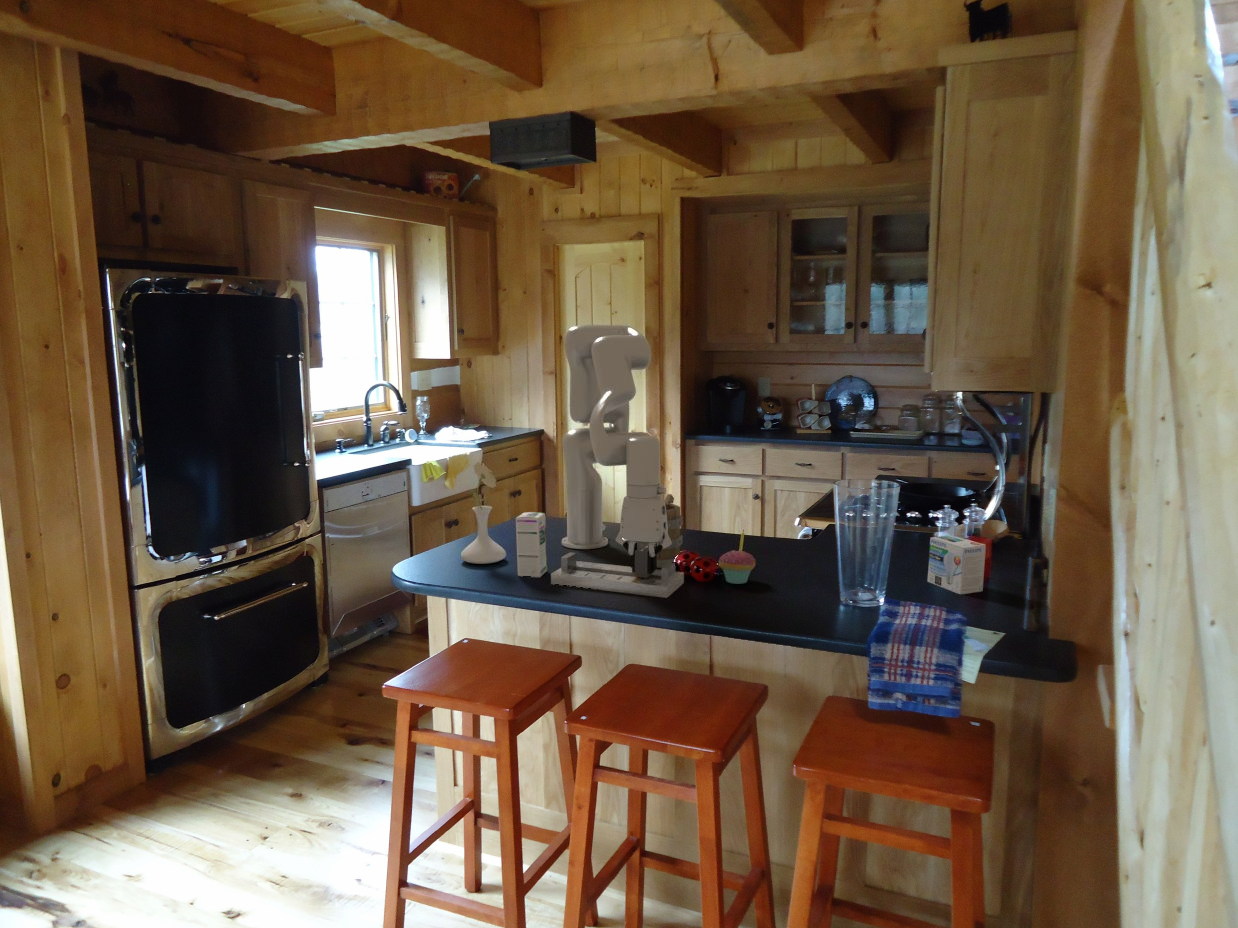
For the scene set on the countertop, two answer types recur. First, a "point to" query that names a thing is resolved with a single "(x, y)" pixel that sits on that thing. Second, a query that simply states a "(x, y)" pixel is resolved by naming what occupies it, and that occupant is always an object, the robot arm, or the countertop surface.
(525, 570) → the syrup box
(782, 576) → the countertop surface
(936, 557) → the light bulb box
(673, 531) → the tankard
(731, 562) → the cupcake
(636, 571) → the fader
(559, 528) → the countertop surface
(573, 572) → the board
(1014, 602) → the countertop surface
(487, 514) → the flower in vase
